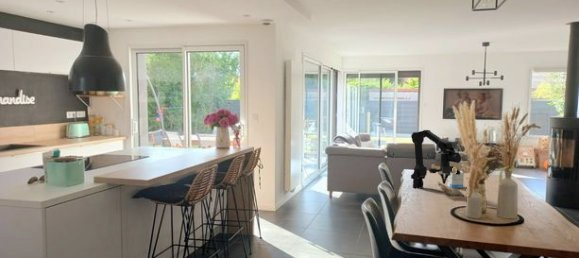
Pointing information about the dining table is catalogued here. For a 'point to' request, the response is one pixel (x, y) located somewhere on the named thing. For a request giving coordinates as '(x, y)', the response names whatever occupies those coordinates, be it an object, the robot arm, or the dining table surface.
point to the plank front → (446, 190)
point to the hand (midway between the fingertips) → (443, 183)
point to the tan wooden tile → (457, 192)
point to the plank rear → (443, 185)
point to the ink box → (456, 180)
